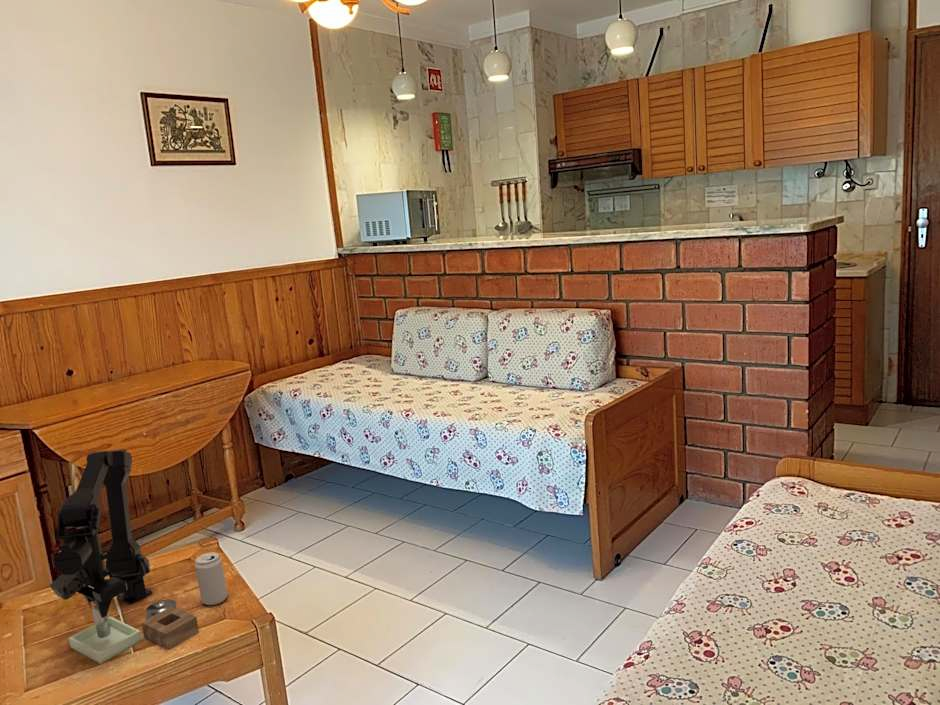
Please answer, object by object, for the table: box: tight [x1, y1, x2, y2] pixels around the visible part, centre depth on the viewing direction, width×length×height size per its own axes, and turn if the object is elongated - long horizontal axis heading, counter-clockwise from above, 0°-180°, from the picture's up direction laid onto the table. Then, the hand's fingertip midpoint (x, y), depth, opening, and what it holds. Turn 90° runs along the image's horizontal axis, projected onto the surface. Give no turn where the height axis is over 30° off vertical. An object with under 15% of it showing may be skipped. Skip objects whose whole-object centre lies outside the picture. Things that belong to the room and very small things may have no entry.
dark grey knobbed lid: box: [145, 598, 178, 620], centre depth 185 cm, size 7×7×3 cm
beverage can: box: [194, 551, 228, 606], centre depth 189 cm, size 6×6×12 cm
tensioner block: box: [141, 606, 200, 650], centre depth 176 cm, size 10×8×4 cm
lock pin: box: [90, 599, 111, 638], centre depth 173 cm, size 3×3×9 cm
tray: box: [68, 616, 143, 665], centre depth 175 cm, size 13×10×2 cm
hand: (100, 615), depth 173 cm, fingers closed on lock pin, 3 cm apart
